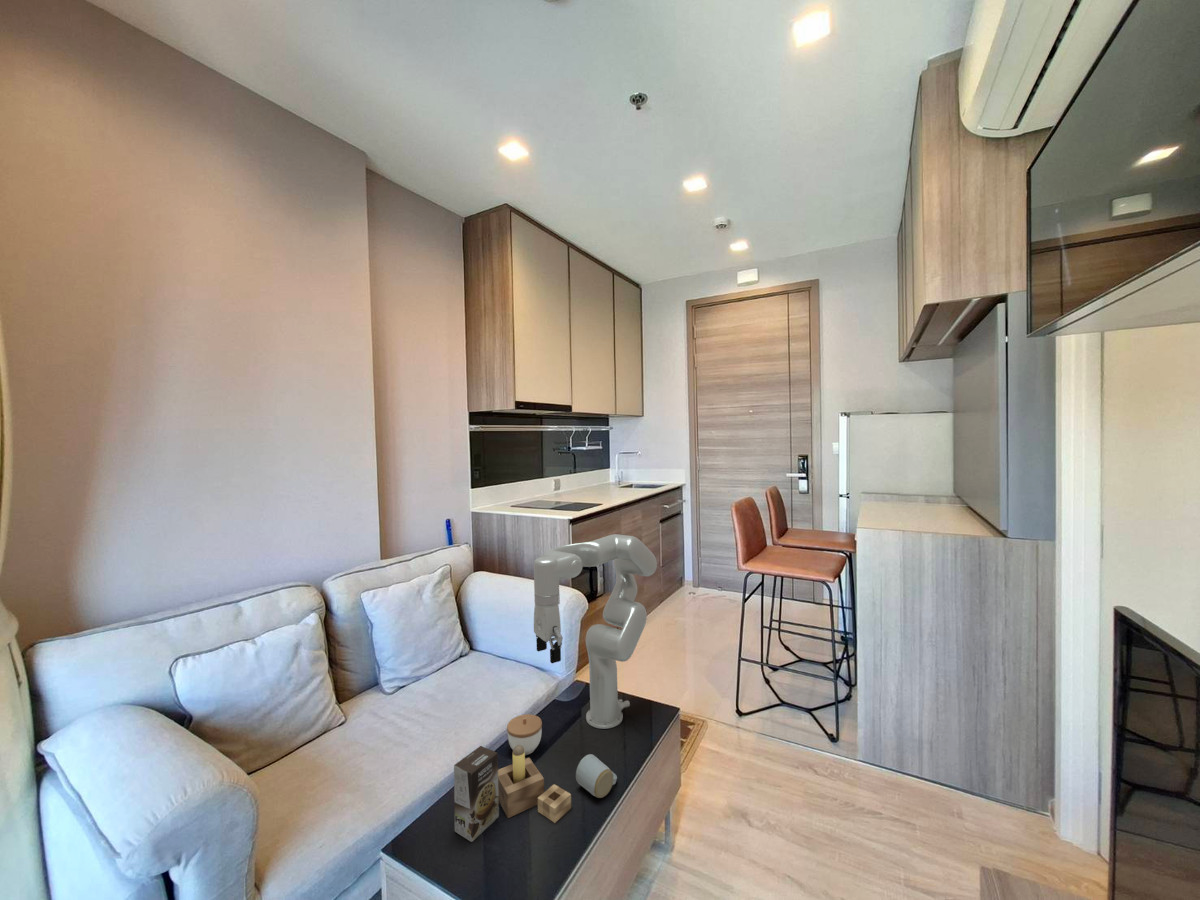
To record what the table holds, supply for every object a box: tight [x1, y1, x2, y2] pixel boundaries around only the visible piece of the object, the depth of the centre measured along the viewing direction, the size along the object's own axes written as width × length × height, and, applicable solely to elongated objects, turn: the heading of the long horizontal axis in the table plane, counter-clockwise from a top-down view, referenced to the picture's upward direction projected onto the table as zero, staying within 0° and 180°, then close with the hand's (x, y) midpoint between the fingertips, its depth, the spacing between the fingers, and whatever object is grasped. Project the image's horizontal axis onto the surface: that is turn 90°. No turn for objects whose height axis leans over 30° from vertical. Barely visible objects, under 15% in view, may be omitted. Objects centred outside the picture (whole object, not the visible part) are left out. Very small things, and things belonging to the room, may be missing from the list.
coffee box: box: [453, 745, 500, 843], centre depth 112 cm, size 9×6×16 cm
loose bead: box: [537, 784, 572, 824], centre depth 116 cm, size 6×6×4 cm
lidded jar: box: [506, 713, 543, 756], centre depth 141 cm, size 11×11×9 cm
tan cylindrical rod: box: [512, 745, 526, 784], centre depth 121 cm, size 3×3×14 cm
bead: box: [498, 757, 545, 819], centre depth 121 cm, size 10×10×6 cm
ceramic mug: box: [575, 753, 618, 799], centre depth 124 cm, size 11×8×8 cm
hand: (548, 655), depth 137 cm, fingers open, 9 cm apart
